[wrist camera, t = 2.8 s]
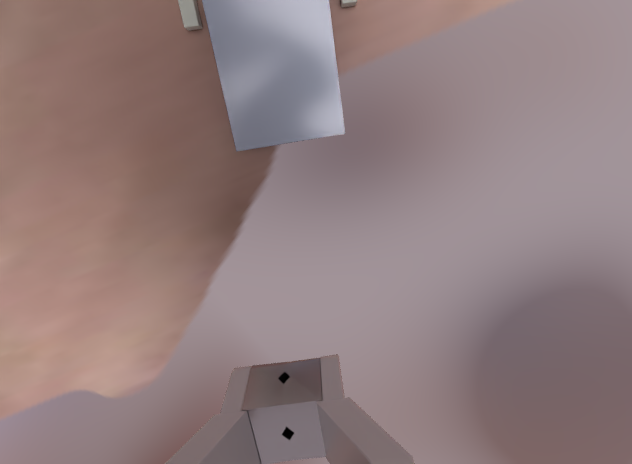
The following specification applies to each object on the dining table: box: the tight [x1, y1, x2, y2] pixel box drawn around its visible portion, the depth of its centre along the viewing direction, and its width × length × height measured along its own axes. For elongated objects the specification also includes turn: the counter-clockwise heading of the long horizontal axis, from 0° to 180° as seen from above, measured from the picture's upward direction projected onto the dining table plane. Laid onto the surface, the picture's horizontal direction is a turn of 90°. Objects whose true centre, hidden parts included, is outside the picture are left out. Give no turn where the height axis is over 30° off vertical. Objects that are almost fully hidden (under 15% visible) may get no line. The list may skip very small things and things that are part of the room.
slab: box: [202, 0, 345, 151], centre depth 25 cm, size 10×8×3 cm
